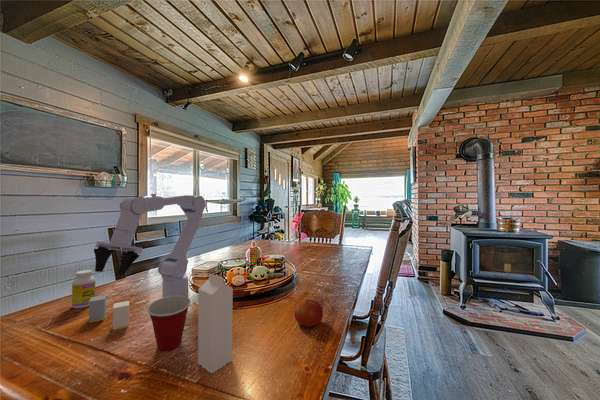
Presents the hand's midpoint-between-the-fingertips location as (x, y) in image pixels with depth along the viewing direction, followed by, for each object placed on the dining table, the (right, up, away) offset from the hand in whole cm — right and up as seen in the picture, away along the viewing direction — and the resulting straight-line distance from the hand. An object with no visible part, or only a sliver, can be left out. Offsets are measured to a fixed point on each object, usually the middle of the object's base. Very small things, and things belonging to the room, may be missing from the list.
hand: (109, 273), depth 77 cm
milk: (+39, -18, -16) cm, 46 cm away
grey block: (-8, -17, +5) cm, 20 cm away
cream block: (+3, -17, +1) cm, 18 cm away
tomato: (+64, -18, +4) cm, 66 cm away
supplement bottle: (-22, -17, +15) cm, 32 cm away
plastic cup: (+24, -18, -9) cm, 31 cm away
